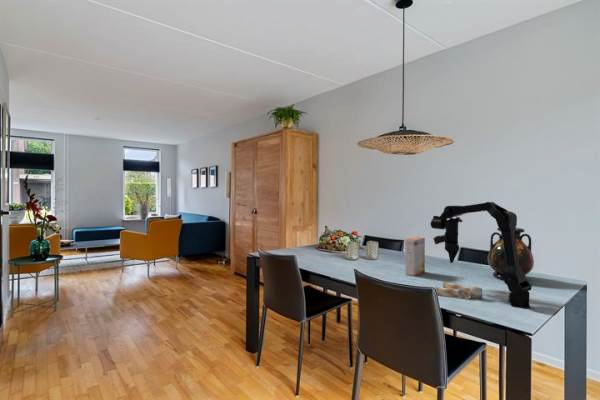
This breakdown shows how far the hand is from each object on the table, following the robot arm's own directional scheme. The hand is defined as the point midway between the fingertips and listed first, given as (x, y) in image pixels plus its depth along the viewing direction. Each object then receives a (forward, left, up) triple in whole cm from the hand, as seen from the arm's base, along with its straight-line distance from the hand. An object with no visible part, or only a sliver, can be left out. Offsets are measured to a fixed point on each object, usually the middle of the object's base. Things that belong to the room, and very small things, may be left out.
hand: (451, 261), depth 161 cm
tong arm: (-4, +10, -13) cm, 17 cm away
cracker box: (+19, -21, -13) cm, 31 cm away
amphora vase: (-30, -32, -13) cm, 46 cm away
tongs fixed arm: (0, +15, -13) cm, 20 cm away
